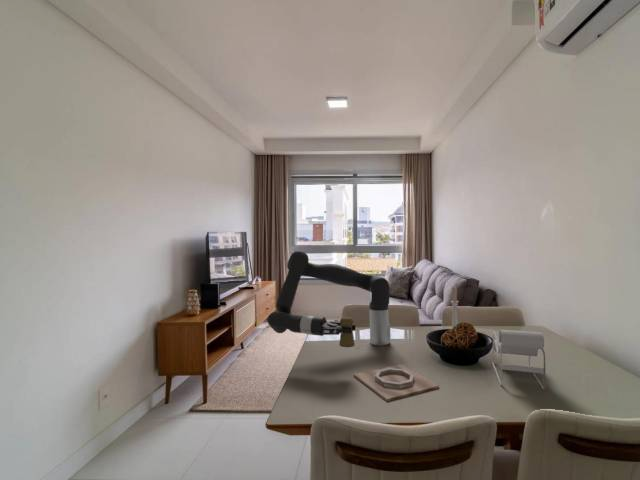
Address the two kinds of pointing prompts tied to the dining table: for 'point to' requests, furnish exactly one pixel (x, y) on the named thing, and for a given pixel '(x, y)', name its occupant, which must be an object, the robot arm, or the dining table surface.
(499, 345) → the chair
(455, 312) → the candlestick
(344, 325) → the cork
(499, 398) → the dining table surface
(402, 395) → the collar holder
